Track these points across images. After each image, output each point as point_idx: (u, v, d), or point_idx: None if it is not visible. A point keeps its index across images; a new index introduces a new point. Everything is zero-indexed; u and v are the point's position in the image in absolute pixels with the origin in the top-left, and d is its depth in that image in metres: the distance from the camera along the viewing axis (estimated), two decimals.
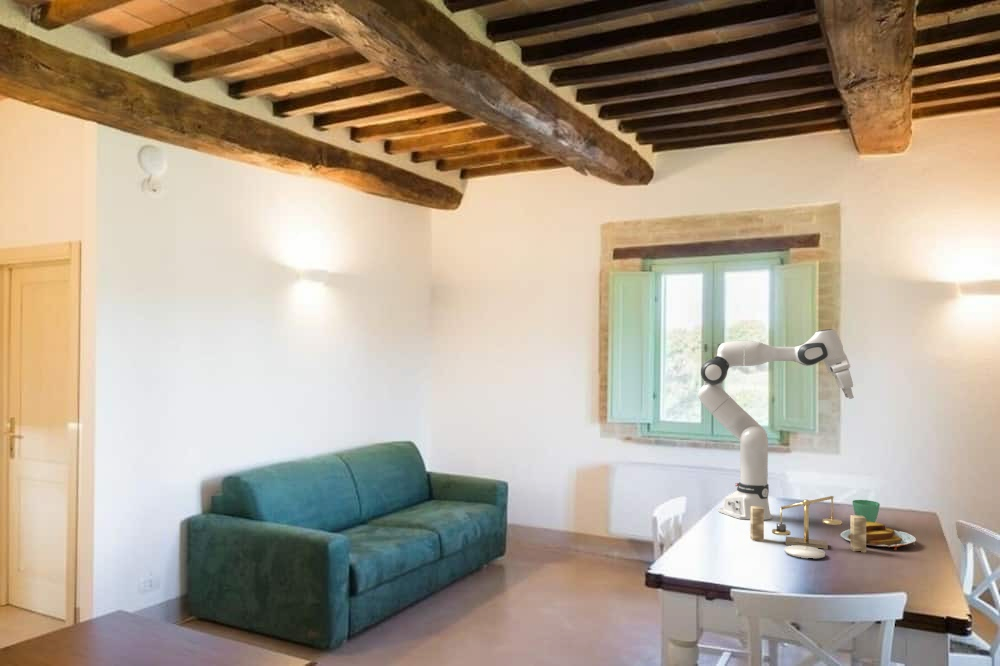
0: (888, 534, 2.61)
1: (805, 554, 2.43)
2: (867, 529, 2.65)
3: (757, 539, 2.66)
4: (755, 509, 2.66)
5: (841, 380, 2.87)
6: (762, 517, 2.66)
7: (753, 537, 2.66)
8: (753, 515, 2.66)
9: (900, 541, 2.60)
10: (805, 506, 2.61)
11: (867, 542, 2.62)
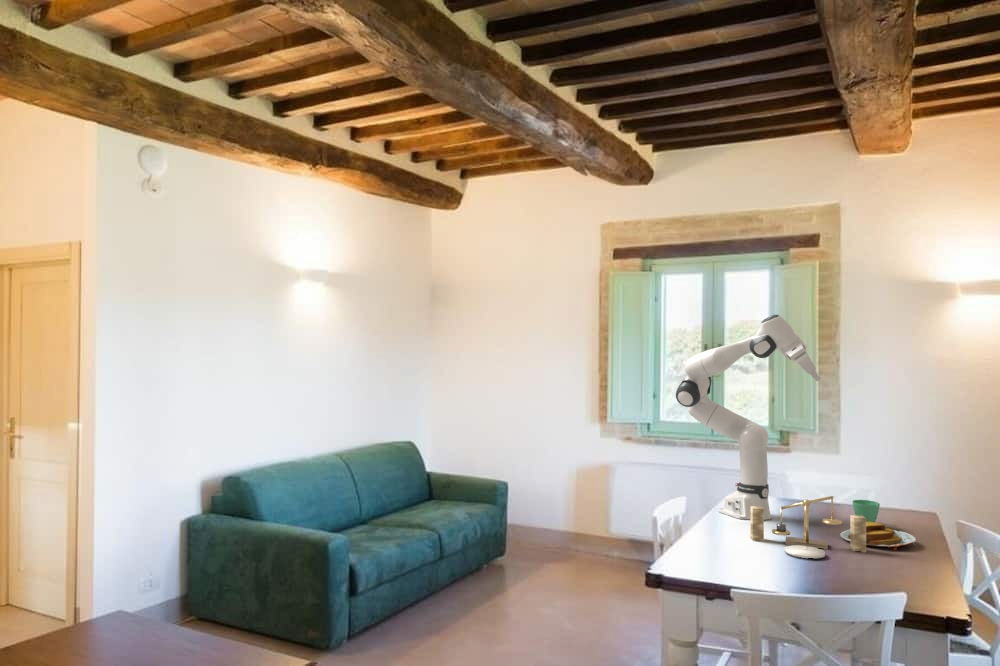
0: (888, 534, 2.61)
1: (805, 554, 2.43)
2: (867, 529, 2.65)
3: (757, 539, 2.66)
4: (755, 509, 2.66)
5: (802, 366, 2.70)
6: (762, 517, 2.66)
7: (753, 537, 2.66)
8: (753, 515, 2.66)
9: (900, 541, 2.60)
10: (805, 506, 2.61)
11: (867, 542, 2.62)
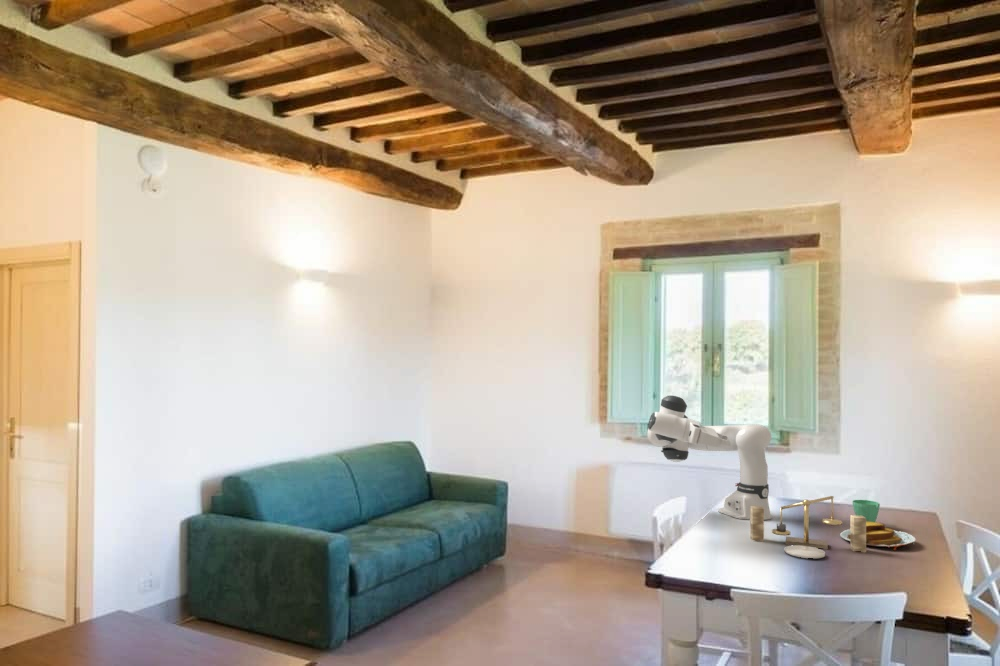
0: (888, 534, 2.61)
1: (805, 554, 2.43)
2: (867, 529, 2.65)
3: (757, 539, 2.66)
4: (755, 509, 2.66)
5: (707, 444, 2.61)
6: (762, 517, 2.66)
7: (753, 537, 2.66)
8: (753, 515, 2.66)
9: (900, 541, 2.60)
10: (805, 506, 2.61)
11: (867, 542, 2.62)
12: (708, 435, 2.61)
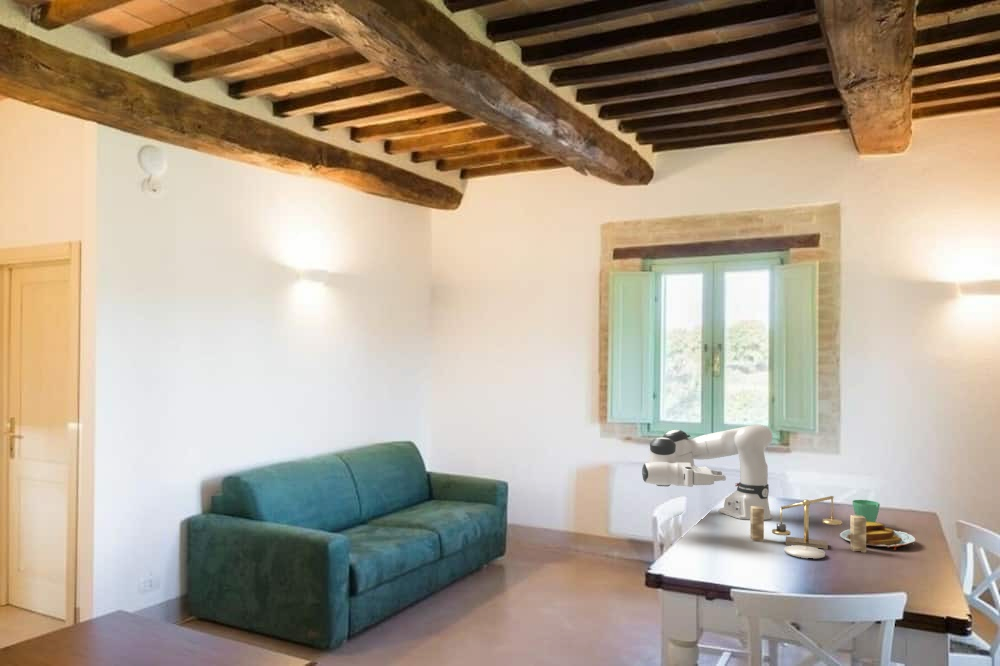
0: (887, 534, 2.61)
1: (805, 554, 2.43)
2: (866, 529, 2.65)
3: (757, 539, 2.66)
4: (755, 509, 2.66)
5: (703, 483, 2.62)
6: (762, 517, 2.66)
7: (753, 537, 2.66)
8: (753, 515, 2.66)
9: (899, 541, 2.60)
10: (805, 506, 2.61)
11: (866, 542, 2.62)
12: (702, 474, 2.62)
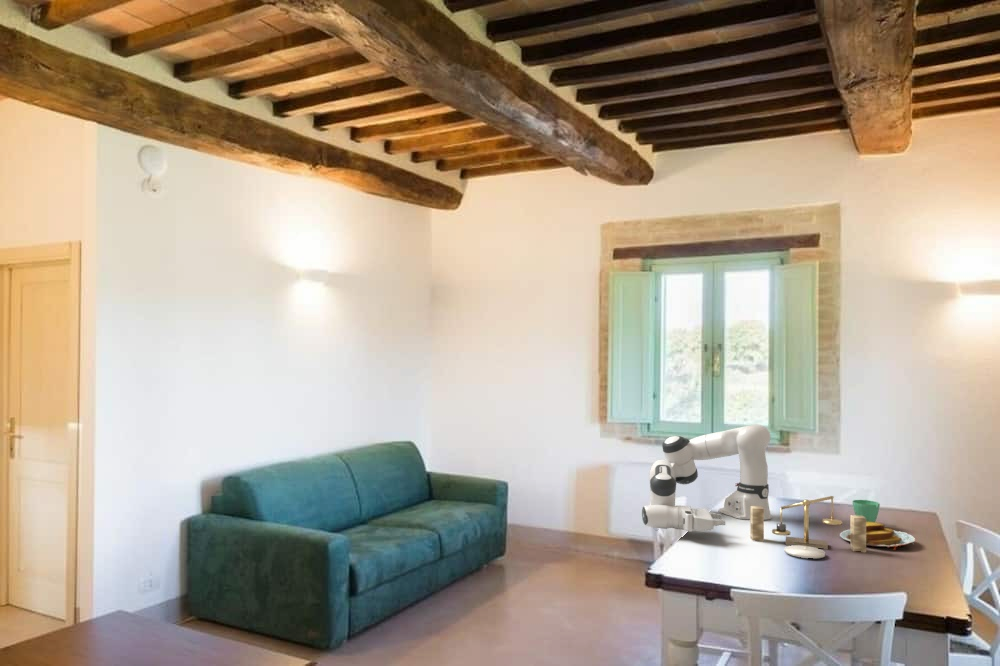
0: (887, 534, 2.61)
1: (805, 554, 2.43)
2: (866, 529, 2.65)
3: (757, 539, 2.66)
4: (755, 509, 2.66)
5: (703, 529, 2.61)
6: (762, 517, 2.66)
7: (753, 537, 2.66)
8: (753, 515, 2.66)
9: (899, 541, 2.60)
10: (805, 506, 2.61)
11: (866, 542, 2.62)
12: (701, 520, 2.61)
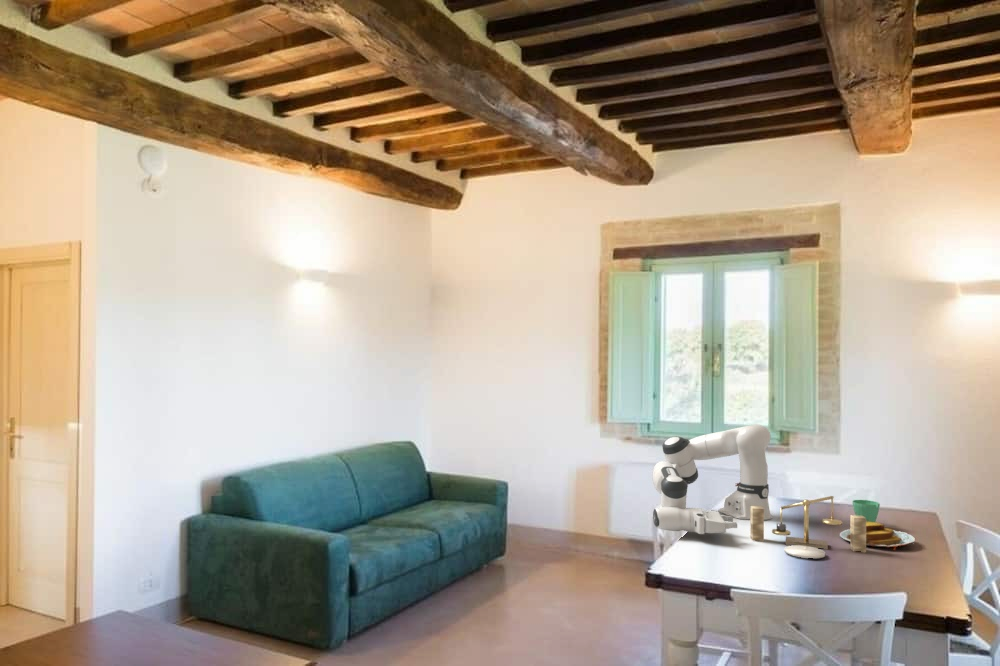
0: (887, 534, 2.61)
1: (805, 554, 2.43)
2: (866, 529, 2.65)
3: (757, 539, 2.66)
4: (755, 509, 2.66)
5: (715, 531, 2.60)
6: (762, 517, 2.66)
7: (753, 537, 2.66)
8: (753, 515, 2.66)
9: (899, 541, 2.60)
10: (805, 506, 2.61)
11: (866, 542, 2.62)
12: (714, 522, 2.60)
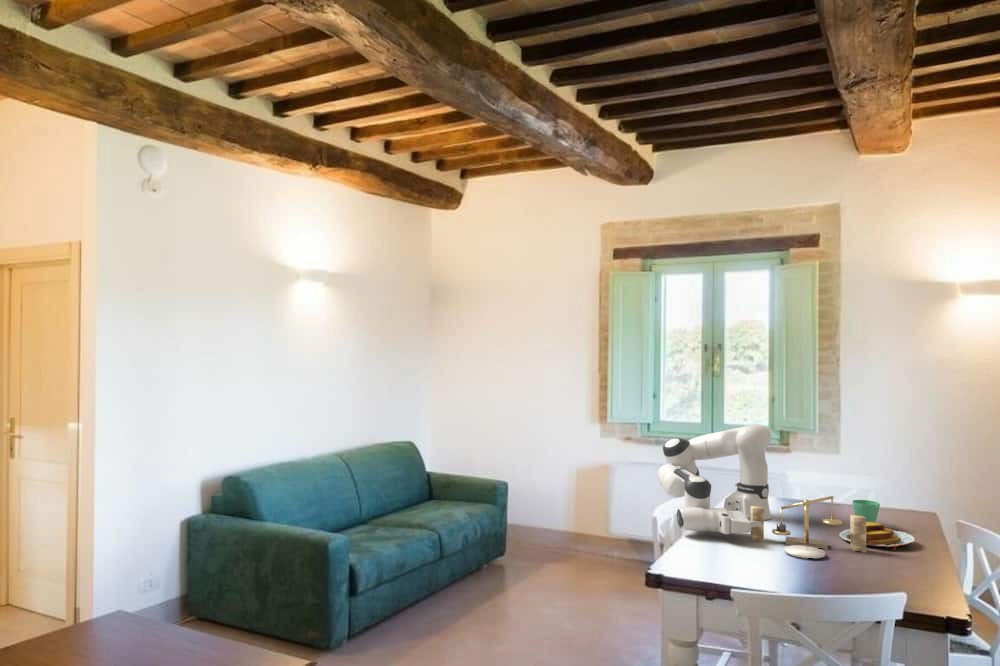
0: (887, 534, 2.61)
1: (805, 554, 2.43)
2: (866, 529, 2.65)
3: (757, 539, 2.66)
4: (755, 509, 2.66)
5: (740, 531, 2.59)
6: (762, 517, 2.66)
7: (753, 537, 2.66)
8: (753, 515, 2.66)
9: (899, 541, 2.60)
10: (805, 506, 2.61)
11: (866, 542, 2.62)
12: (739, 522, 2.59)
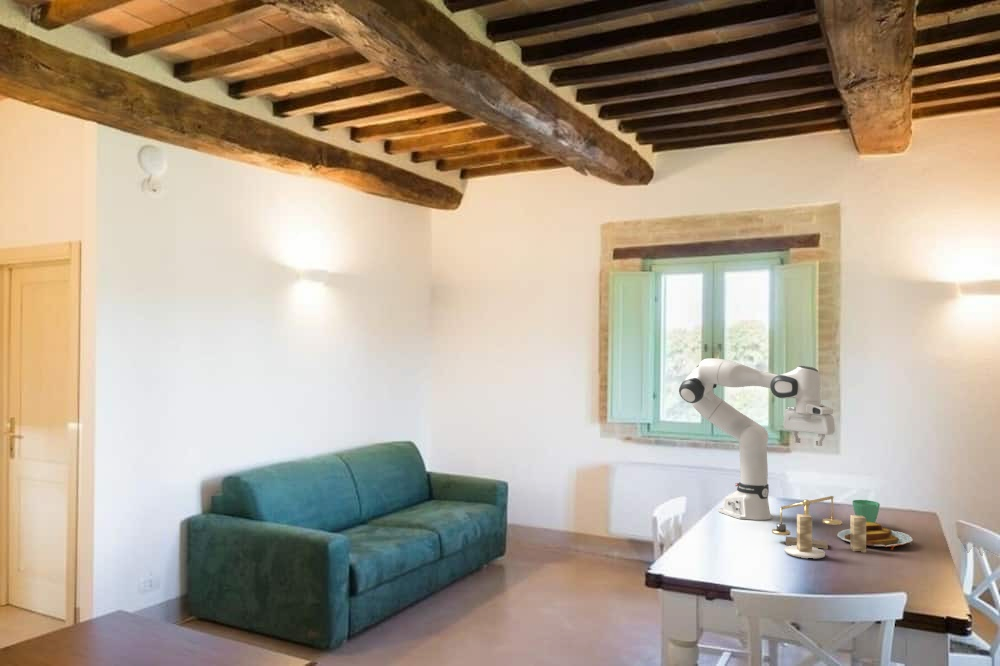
0: (885, 534, 2.61)
1: (805, 554, 2.43)
2: None
3: (805, 550, 2.46)
4: (803, 517, 2.46)
5: (828, 424, 2.66)
6: (810, 526, 2.46)
7: (800, 548, 2.46)
8: (800, 524, 2.46)
9: (897, 541, 2.60)
10: (805, 506, 2.61)
11: None
12: (833, 422, 2.68)
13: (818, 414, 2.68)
